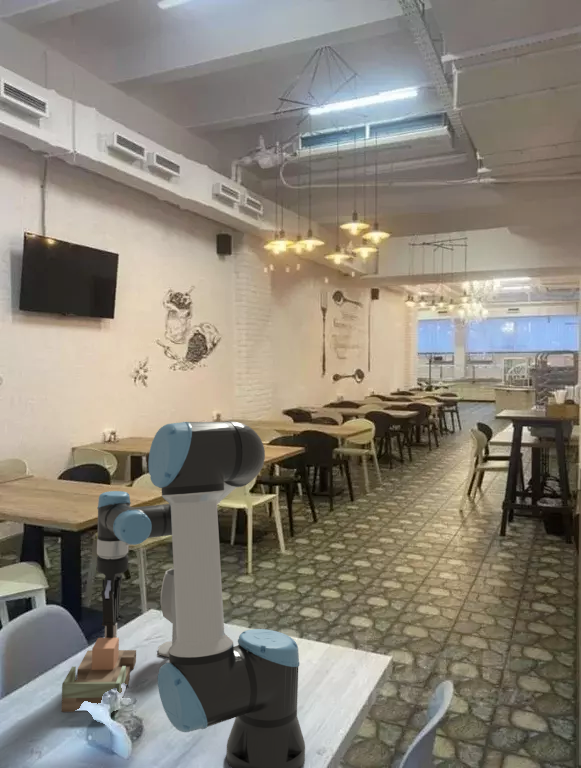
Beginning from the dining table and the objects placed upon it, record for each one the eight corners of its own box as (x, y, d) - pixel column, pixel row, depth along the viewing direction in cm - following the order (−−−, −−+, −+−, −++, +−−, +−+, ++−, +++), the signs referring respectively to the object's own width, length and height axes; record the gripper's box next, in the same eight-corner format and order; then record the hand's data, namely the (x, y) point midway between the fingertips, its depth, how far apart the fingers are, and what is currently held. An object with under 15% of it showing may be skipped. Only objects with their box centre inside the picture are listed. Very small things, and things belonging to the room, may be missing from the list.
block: (113, 669, 146) (113, 648, 146) (91, 669, 146) (92, 648, 146) (118, 657, 152) (118, 637, 152) (97, 658, 152) (98, 637, 152)
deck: (118, 710, 134) (119, 683, 134) (61, 711, 133) (62, 684, 133) (135, 661, 157) (136, 638, 157) (87, 662, 156) (87, 638, 156)
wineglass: (194, 645, 168) (196, 567, 167) (186, 659, 159) (188, 578, 159) (163, 642, 169) (165, 565, 168) (153, 657, 160) (155, 576, 160)
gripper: (123, 562, 148) (120, 661, 148) (132, 547, 161) (130, 638, 161) (91, 562, 147) (88, 661, 147) (103, 547, 160) (100, 638, 160)
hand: (110, 649), depth 154 cm, fingers closed
